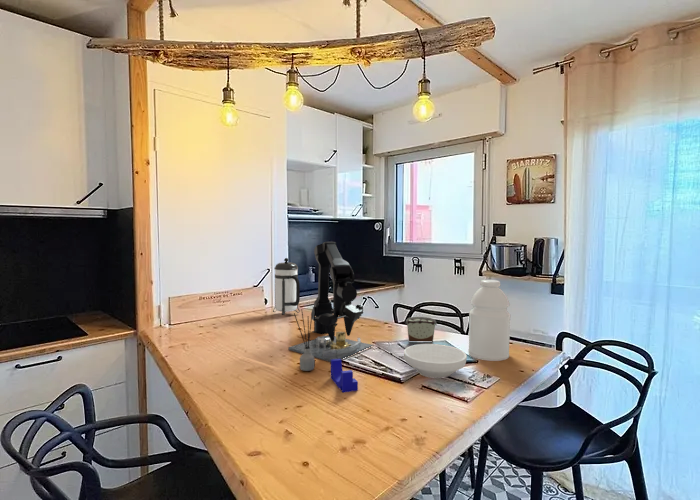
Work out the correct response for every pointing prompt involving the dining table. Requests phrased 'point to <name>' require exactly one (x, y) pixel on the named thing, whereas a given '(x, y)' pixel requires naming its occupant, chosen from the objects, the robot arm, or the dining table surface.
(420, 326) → the food container
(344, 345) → the gear
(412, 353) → the bowl
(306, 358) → the reed diffuser
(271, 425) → the dining table surface
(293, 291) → the coffee press
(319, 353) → the carrier plate
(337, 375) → the blue u-shaped block
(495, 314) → the bottle
